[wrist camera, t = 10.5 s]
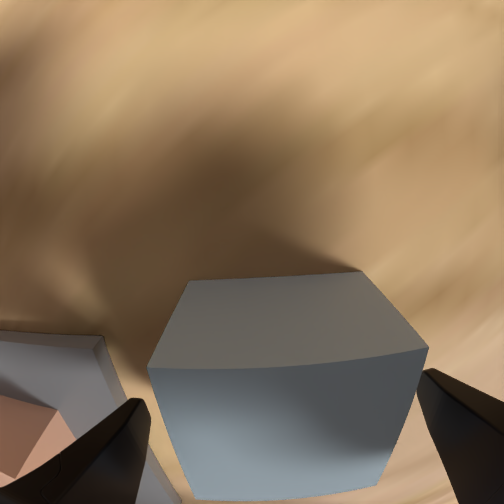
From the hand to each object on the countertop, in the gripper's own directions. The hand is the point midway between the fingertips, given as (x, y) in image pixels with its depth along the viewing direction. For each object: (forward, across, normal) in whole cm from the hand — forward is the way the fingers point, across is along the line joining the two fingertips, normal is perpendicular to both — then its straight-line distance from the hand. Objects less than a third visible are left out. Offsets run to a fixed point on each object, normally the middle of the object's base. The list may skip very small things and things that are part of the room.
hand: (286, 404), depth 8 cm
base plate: (+3, +14, +6) cm, 15 cm away
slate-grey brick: (+3, 0, 0) cm, 3 cm away
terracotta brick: (+2, +14, +6) cm, 15 cm away
